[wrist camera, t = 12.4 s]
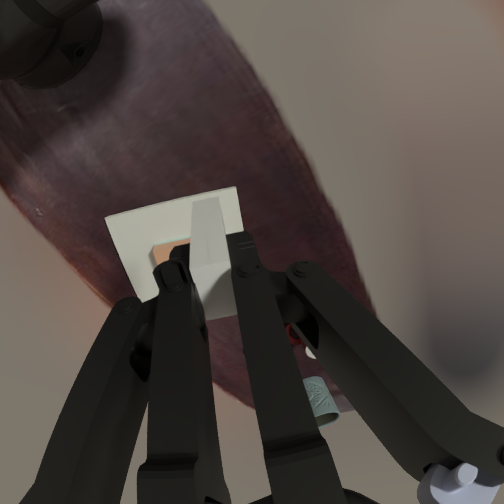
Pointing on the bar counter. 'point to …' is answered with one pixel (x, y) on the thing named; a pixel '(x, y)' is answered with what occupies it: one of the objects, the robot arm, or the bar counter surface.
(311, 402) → the green ceramic cup
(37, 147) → the bar counter surface
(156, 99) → the bar counter surface
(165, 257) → the tile
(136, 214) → the mat
